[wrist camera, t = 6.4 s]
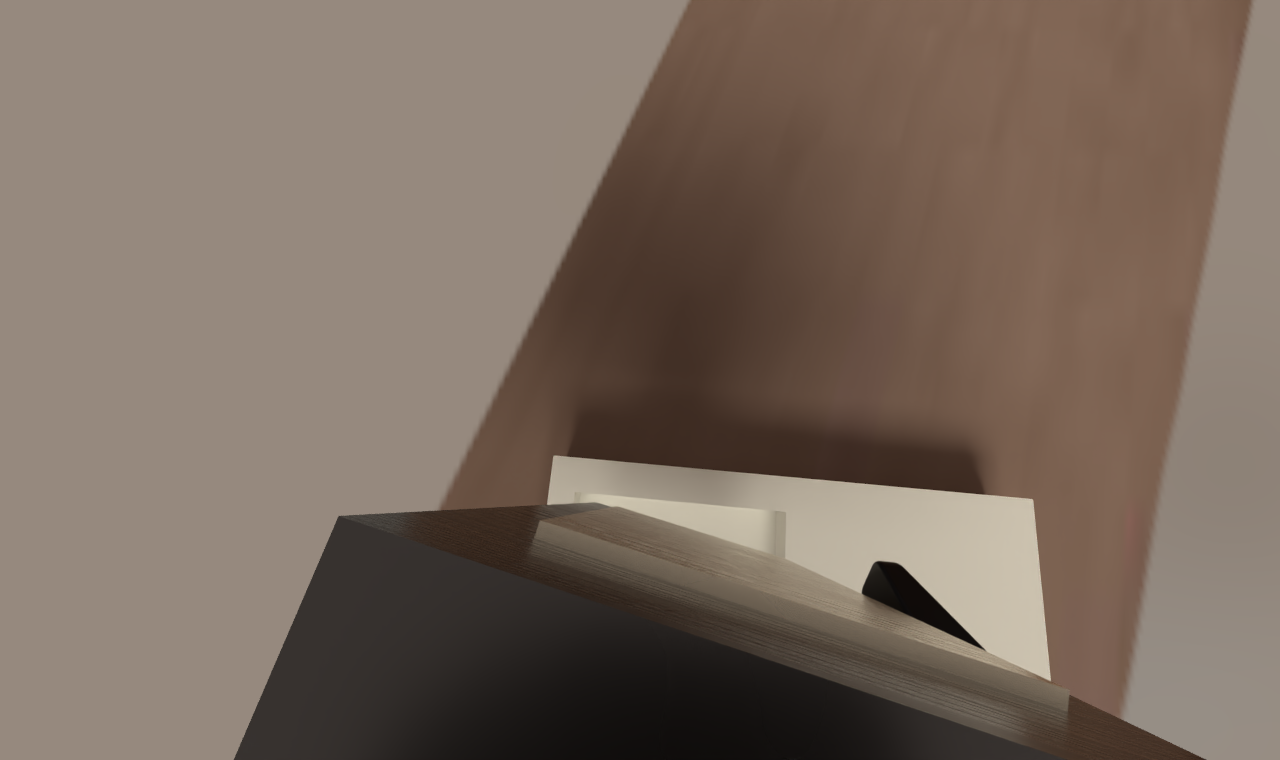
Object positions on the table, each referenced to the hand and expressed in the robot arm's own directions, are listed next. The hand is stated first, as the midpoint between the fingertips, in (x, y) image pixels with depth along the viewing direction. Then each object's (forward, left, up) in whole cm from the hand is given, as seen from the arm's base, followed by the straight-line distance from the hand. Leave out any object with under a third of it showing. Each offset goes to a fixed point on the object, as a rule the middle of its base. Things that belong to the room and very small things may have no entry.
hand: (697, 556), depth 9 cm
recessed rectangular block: (-1, -4, -11) cm, 12 cm away
